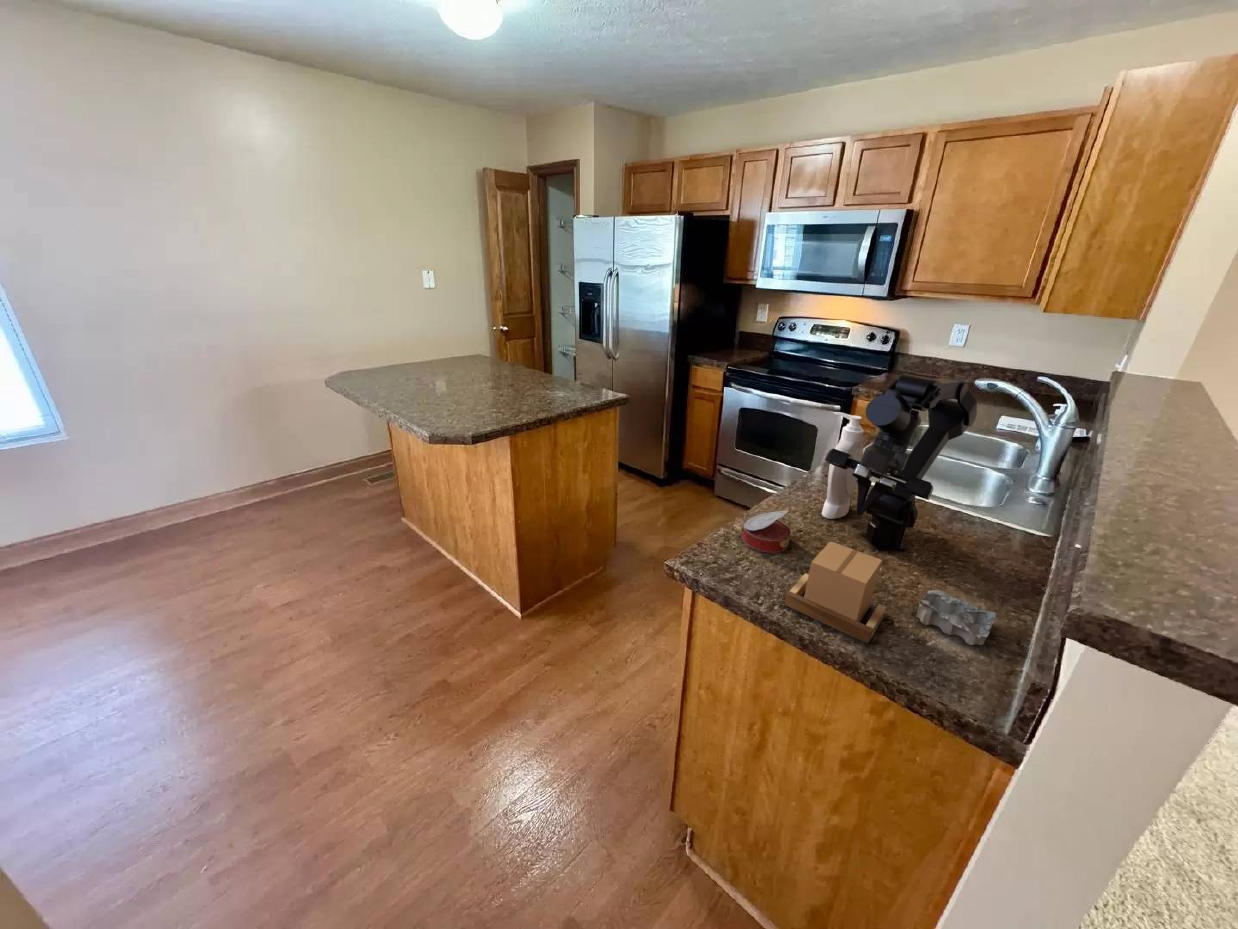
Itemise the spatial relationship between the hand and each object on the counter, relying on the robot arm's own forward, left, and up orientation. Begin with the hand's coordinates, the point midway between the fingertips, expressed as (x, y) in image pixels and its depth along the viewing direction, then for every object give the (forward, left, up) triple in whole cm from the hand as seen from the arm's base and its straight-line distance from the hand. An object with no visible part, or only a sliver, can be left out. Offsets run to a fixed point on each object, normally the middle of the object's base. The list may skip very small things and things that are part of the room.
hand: (858, 514), depth 98 cm
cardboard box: (+8, +12, -12) cm, 19 cm away
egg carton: (-11, +17, -13) cm, 24 cm away
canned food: (+13, -11, -13) cm, 21 cm away
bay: (+8, +12, -12) cm, 19 cm away
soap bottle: (-8, -24, -13) cm, 28 cm away
